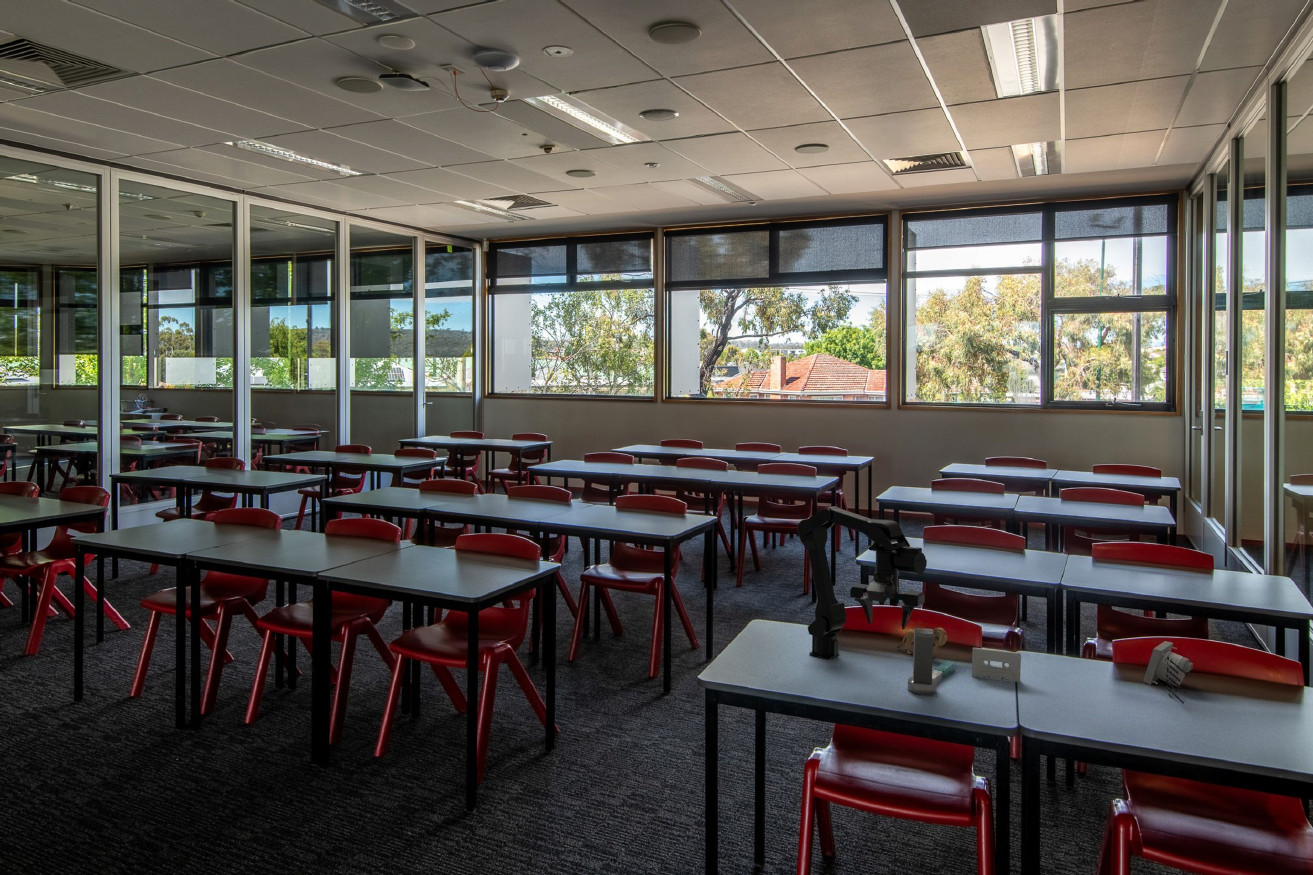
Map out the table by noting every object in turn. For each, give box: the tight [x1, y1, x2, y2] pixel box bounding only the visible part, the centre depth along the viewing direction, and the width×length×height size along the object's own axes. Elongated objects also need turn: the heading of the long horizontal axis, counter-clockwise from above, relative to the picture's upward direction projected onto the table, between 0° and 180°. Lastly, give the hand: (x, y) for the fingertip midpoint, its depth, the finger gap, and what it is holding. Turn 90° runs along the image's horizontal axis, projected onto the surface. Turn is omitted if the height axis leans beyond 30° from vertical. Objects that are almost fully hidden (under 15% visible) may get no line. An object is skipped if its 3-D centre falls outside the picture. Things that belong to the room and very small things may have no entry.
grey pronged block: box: [1143, 640, 1194, 705], centre depth 211 cm, size 27×11×10 cm, turn 168°
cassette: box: [970, 647, 1022, 683], centre depth 220 cm, size 12×2×8 cm, turn 69°
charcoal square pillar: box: [912, 627, 934, 685], centre depth 211 cm, size 4×4×13 cm
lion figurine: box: [896, 627, 948, 658], centre depth 238 cm, size 15×5×9 cm, turn 50°
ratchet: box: [907, 660, 955, 697], centre depth 218 cm, size 7×24×5 cm, turn 142°
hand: (886, 626), depth 221 cm, fingers open, 9 cm apart
